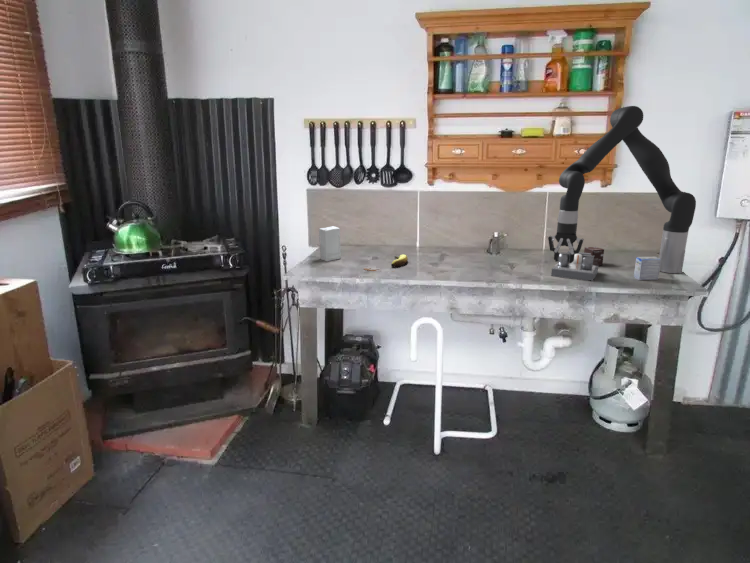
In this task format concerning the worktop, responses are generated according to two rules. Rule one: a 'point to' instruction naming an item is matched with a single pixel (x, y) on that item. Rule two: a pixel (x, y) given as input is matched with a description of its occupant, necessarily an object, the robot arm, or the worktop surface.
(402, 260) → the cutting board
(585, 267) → the spacer
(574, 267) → the dial scale
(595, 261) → the box
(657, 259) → the medicine box
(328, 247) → the skincare box
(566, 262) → the spacer
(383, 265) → the worktop surface
